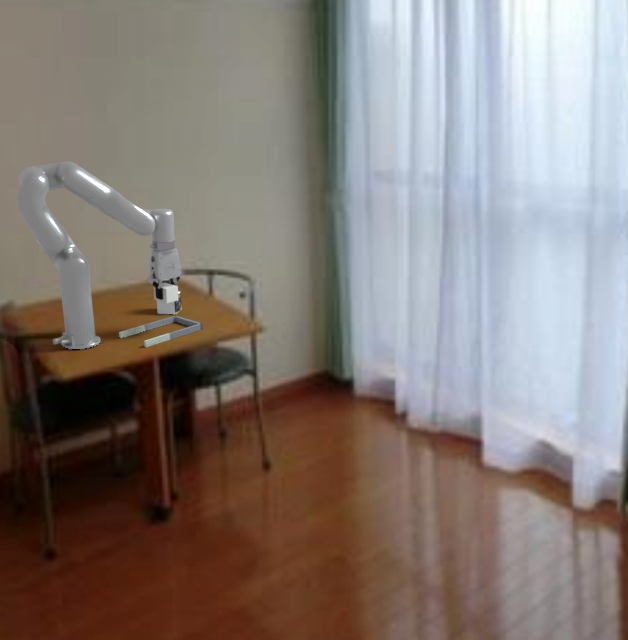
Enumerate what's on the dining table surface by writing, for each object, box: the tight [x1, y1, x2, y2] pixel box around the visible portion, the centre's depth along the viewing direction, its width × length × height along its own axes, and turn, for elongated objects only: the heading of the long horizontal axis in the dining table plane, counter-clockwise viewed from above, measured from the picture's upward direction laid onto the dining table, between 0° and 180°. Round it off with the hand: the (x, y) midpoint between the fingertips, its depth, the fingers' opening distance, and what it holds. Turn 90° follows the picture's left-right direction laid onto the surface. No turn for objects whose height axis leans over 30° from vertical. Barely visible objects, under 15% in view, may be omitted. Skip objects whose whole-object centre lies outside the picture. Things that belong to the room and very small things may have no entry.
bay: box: [118, 314, 204, 348], centre depth 292 cm, size 24×15×2 cm, turn 137°
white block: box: [153, 283, 179, 303], centre depth 291 cm, size 5×7×5 cm
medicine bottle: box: [156, 279, 183, 316], centre depth 315 cm, size 7×7×12 cm
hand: (166, 296), depth 291 cm, fingers closed on white block, 5 cm apart
